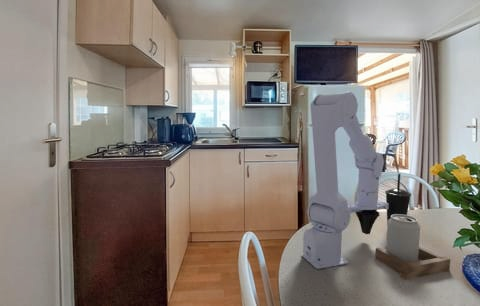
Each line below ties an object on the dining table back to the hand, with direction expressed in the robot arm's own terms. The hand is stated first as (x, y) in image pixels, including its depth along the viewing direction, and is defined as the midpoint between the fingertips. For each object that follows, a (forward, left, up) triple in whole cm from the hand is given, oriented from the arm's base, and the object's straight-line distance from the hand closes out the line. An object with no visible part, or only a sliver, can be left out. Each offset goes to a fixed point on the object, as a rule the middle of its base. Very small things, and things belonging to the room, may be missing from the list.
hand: (365, 233), depth 88 cm
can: (0, -13, -3) cm, 14 cm away
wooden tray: (0, -15, -2) cm, 15 cm away
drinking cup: (+15, +3, -3) cm, 15 cm away
